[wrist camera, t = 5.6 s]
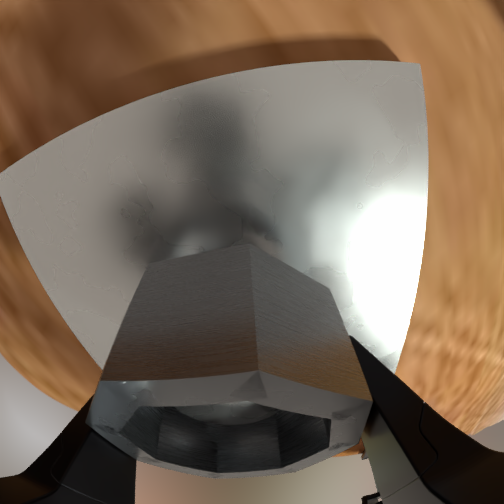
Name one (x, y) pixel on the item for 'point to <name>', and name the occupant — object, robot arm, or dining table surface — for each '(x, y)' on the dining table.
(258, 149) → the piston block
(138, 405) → the octagonal hollow lampshade
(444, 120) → the dining table surface
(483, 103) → the dining table surface
